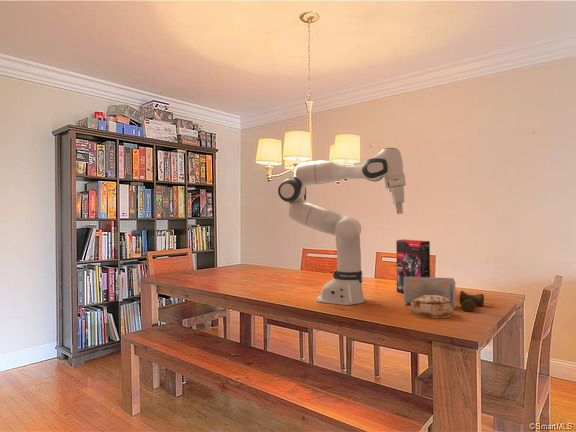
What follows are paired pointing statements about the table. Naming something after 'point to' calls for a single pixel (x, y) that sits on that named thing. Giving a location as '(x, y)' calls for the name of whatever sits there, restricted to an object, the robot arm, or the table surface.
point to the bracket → (429, 288)
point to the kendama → (470, 301)
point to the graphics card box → (412, 260)
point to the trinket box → (432, 306)
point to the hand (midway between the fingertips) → (400, 213)
